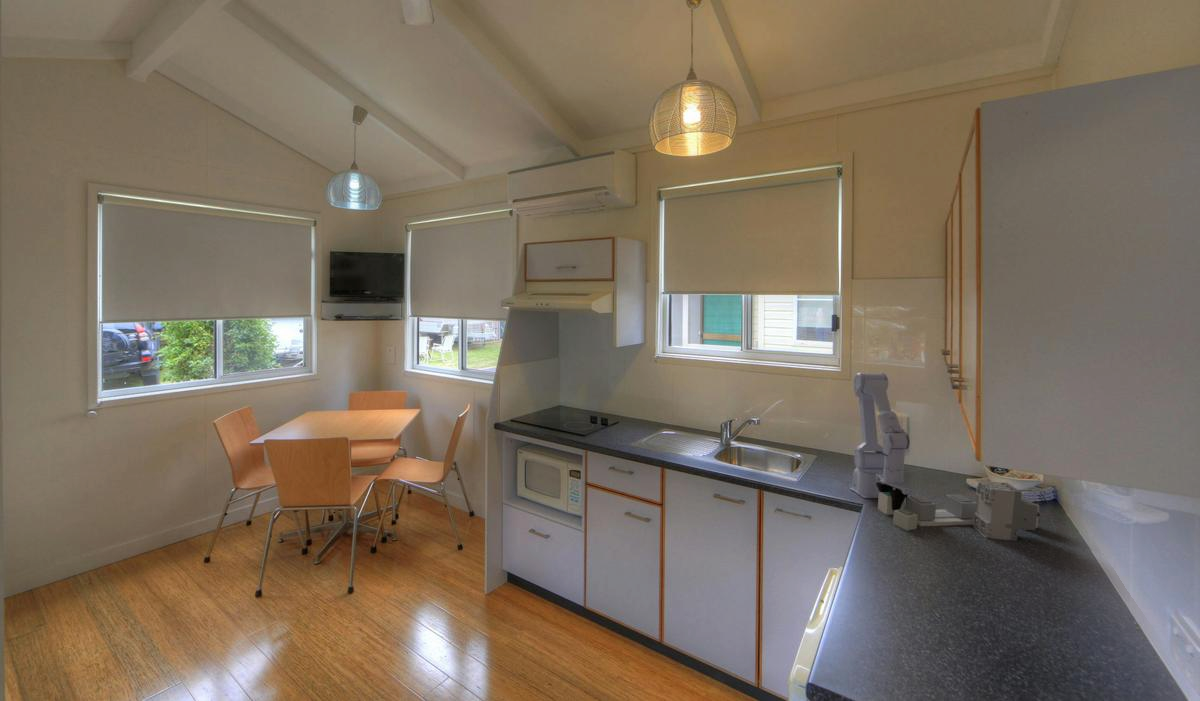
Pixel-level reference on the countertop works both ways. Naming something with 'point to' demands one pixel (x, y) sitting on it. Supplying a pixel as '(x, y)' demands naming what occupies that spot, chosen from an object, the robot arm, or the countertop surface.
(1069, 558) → the countertop surface
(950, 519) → the rail board
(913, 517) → the contactor
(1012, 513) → the circuit breaker
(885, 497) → the block
